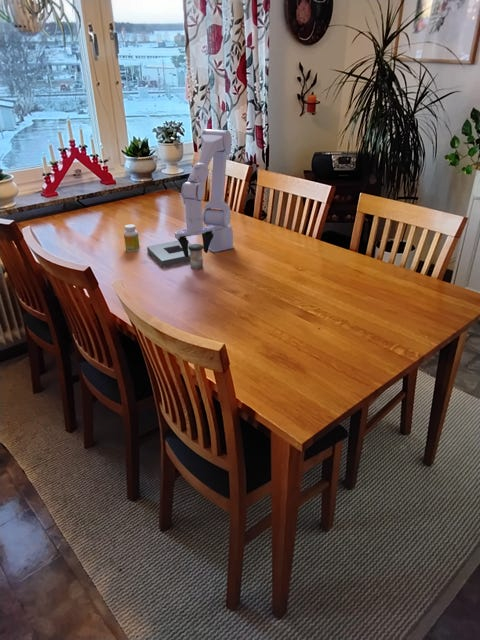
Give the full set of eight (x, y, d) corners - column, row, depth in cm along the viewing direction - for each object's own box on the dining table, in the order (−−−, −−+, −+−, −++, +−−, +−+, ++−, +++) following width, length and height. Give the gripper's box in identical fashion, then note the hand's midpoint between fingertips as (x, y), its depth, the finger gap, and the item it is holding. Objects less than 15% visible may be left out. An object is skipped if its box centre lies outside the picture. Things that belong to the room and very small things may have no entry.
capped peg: (200, 263, 178) (199, 242, 174) (206, 268, 174) (205, 247, 170) (187, 266, 176) (186, 245, 172) (193, 271, 172) (192, 250, 168)
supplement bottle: (136, 252, 187) (133, 228, 182) (123, 251, 188) (120, 227, 183) (141, 247, 191) (139, 224, 186) (129, 246, 192) (126, 223, 187)
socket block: (185, 244, 193) (185, 239, 192) (202, 258, 181) (201, 252, 180) (147, 252, 187) (146, 246, 185) (162, 267, 175) (161, 260, 173)
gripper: (179, 224, 159) (181, 261, 166) (218, 217, 165) (219, 253, 172) (171, 218, 164) (174, 254, 171) (209, 211, 170) (210, 247, 177)
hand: (196, 254), depth 172 cm, fingers open, 7 cm apart
